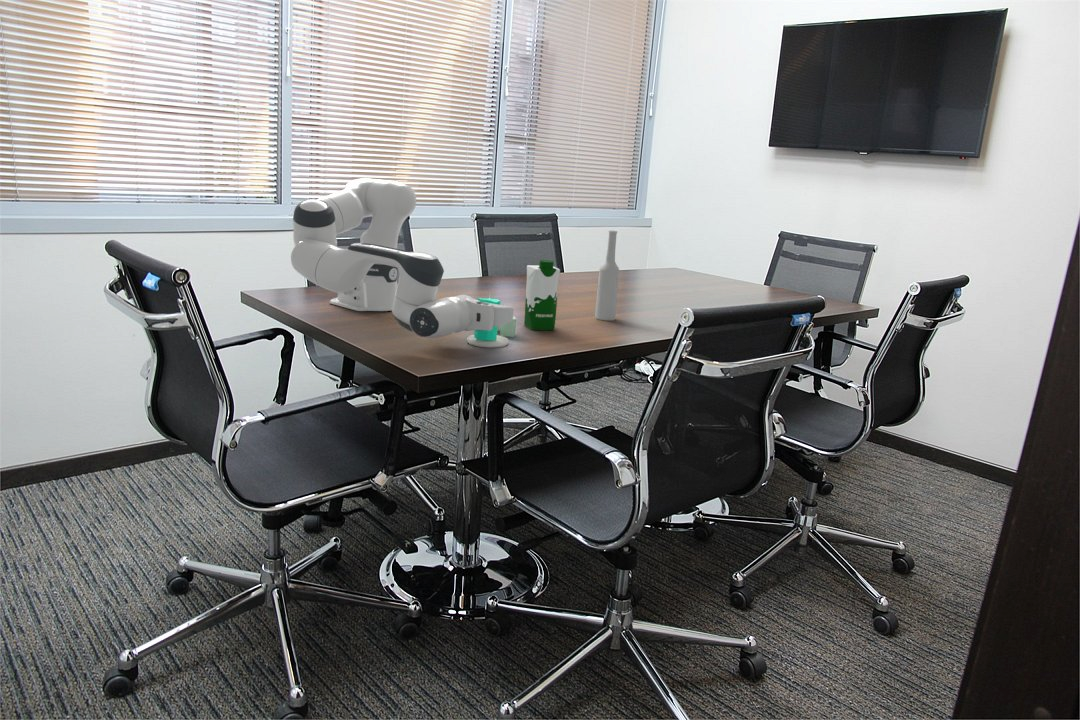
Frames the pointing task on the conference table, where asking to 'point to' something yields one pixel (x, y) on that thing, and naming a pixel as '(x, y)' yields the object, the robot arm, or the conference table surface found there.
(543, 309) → the milk carton
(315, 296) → the conference table surface
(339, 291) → the robot arm
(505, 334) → the sage block
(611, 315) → the bottle
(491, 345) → the coaster
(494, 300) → the candle
